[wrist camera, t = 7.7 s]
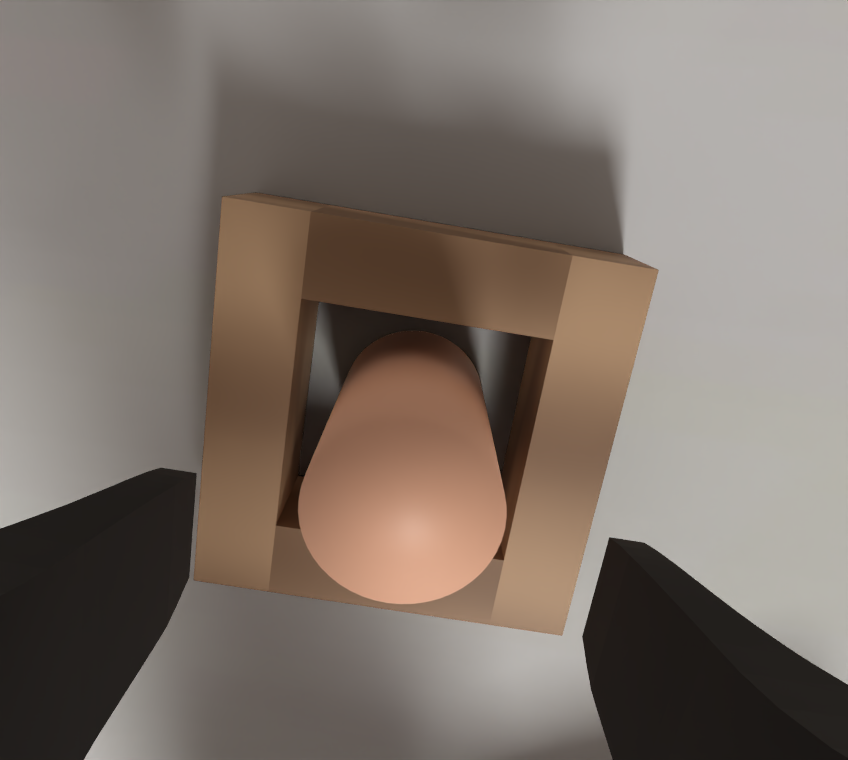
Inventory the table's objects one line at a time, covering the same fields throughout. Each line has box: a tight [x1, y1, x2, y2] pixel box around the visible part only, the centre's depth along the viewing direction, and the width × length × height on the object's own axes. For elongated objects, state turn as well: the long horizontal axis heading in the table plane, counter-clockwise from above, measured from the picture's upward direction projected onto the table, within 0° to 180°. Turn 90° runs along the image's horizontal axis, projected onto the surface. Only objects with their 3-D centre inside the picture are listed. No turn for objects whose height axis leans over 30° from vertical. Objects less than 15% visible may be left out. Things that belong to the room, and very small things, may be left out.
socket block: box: [194, 192, 658, 636], centre depth 18 cm, size 10×10×3 cm
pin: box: [298, 330, 507, 604], centre depth 16 cm, size 4×4×7 cm
